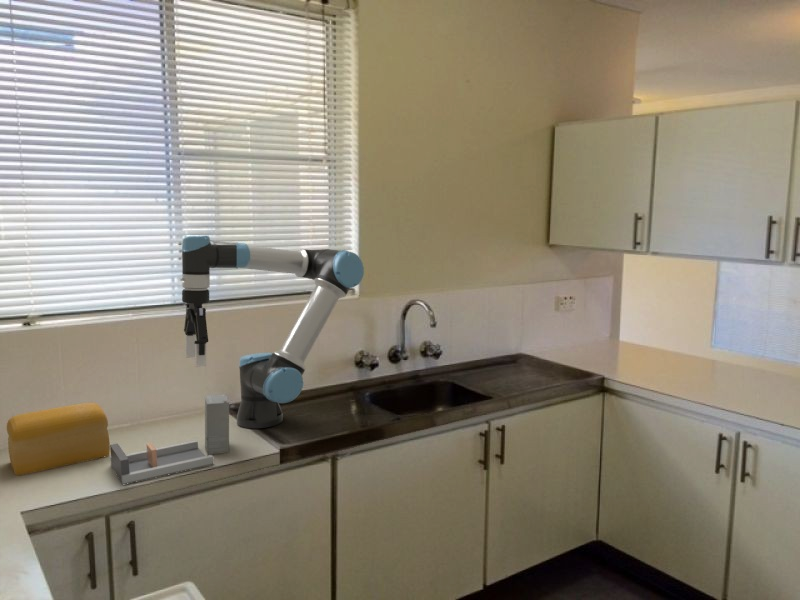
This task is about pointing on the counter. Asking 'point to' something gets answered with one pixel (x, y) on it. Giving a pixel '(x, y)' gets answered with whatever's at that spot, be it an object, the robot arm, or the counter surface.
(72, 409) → the bread
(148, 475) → the lane
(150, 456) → the block
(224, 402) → the skincare box
